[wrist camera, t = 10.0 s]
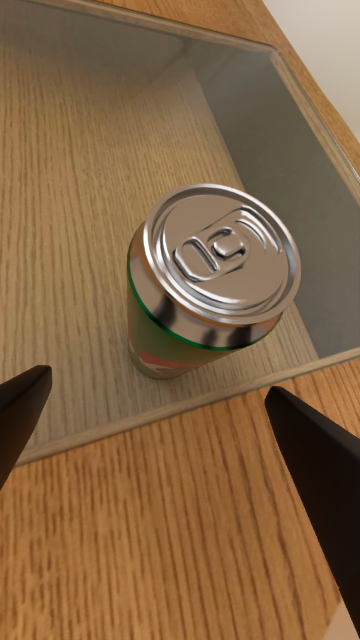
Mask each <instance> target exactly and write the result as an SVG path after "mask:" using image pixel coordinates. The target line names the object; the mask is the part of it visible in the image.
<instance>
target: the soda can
mask: <svg viewBox="0 0 360 640" xmlns="http://www.w3.org/2000/svg"><path fill="white" fill-rule="evenodd" d="M300 279H301V264H300V257H299V253H298V250H297V247H296V244H295V242H294V240H293V238H292V236H291V234H290V232H289V231H288V229H287V228H286V226H285V225H284V224H283V222H282V221H281V220H280V219H279V218H278V217H277V216H276V214H275V213H274V212H273V211H271V210H270V209H269V208H268V207H267V206H266V205H265V204H263V203H262V202H260V201H259V200H257V199H256V198H254V197H252V196H251V195H249V194H247V193H245V192H243V191H240V190H238V189H236V188H233V187H229V186H226V185H222V184H216V183H205V182H201V183H191V184H186V185H182V186H179V187H177V188H174V189H172V190H170V191H169V192H167V193H165V194H164V195H163V196H162V197H160V198H159V199H158V200H157V201H156V202H155V204H154V205H153V207H152V208H151V209H150V211H149V213H148V215H147V218H146V220H145V221H144V222H143V223H142V224H141V225H140V226H139V228H138V229H137V231H136V232H135V233H134V236H133V238H132V240H131V242H130V245H129V250H128V254H127V318H128V351H129V355H130V358H131V360H132V362H133V364H134V365H135V366H136V368H137V369H138V370H139V371H141V372H142V373H143V374H145V375H147V376H149V377H152V378H155V379H170V378H173V377H176V376H179V375H181V374H183V373H186V372H188V371H191V370H193V369H195V368H198V367H200V366H203V365H205V364H207V363H210V362H212V361H215V360H217V359H219V358H222V357H224V356H226V355H229V354H231V353H234V352H236V351H238V350H241V349H243V348H246V347H248V346H250V345H253V344H255V343H256V342H258V341H260V340H261V339H263V338H264V337H265V336H267V335H268V334H269V333H270V332H271V331H272V330H273V329H274V327H275V326H276V324H277V323H278V322H279V320H280V318H281V316H282V314H283V311H284V310H285V309H286V308H287V307H288V305H289V304H290V303H291V301H292V300H293V298H294V297H295V295H296V292H297V290H298V287H299V283H300Z"/></svg>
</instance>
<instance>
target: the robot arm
mask: <svg viewBox="0 0 360 640" xmlns="http://www.w3.org/2000/svg"><path fill="white" fill-rule="evenodd" d="M51 388H52V369H51V367H50V366H47V365H37V366H35V367H33V368H31V369H29V370H27V371H25V372H24V373H22V374H20V375H18V376H16V377H14V378H12V379H10V380H8V381H6V382H5V383H3V384H1V385H0V490H1V489H2V487H3V485H4V483H5V481H6V480H7V478H8V476H9V474H10V472H11V471H12V469H13V467H14V465H15V463H16V462H17V460H18V458H19V456H20V454H21V453H22V451H23V449H24V447H25V445H26V444H27V442H28V440H29V438H30V436H31V435H32V433H33V431H34V429H35V426H36V424H37V422H38V419H39V417H40V415H41V412H42V410H43V408H44V405H45V403H46V400H47V398H48V396H49V393H50V391H51ZM264 403H265V408H266V411H267V414H268V417H269V420H270V423H271V426H272V430H273V433H274V436H275V439H276V441H277V444H278V446H279V449H280V451H281V453H282V456H283V458H284V460H285V463H286V465H287V467H288V470H289V472H290V475H291V477H292V479H293V482H294V484H295V486H296V489H297V491H298V494H299V496H300V498H301V501H302V503H303V505H304V508H305V510H306V513H307V515H308V517H309V520H310V522H311V524H312V527H313V529H314V531H315V534H316V536H317V539H318V541H319V543H320V546H321V548H322V550H323V553H324V555H325V558H326V560H327V562H328V565H329V567H330V569H331V572H332V574H333V576H334V579H335V581H336V584H337V586H338V587H339V591H340V593H341V596H342V598H343V601H344V603H345V605H346V608H347V610H348V612H349V615H350V617H351V620H352V622H353V624H354V627H355V629H356V631H357V634H358V636H359V638H360V439H359V438H357V437H356V436H354V435H353V434H351V433H350V432H348V431H347V430H345V429H344V428H342V427H341V426H339V425H338V424H336V423H335V422H333V421H332V420H330V419H329V418H327V417H326V416H324V415H323V414H321V413H320V412H318V411H317V410H315V409H314V408H312V407H311V406H309V405H308V404H306V403H305V402H304V401H302V400H301V399H299V398H298V397H296V396H295V395H293V394H292V393H290V392H289V391H287V390H286V389H284V388H283V387H280V386H272V387H271V388H270V390H269V392H268V394H267V396H266V398H265V402H264Z"/></svg>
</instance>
